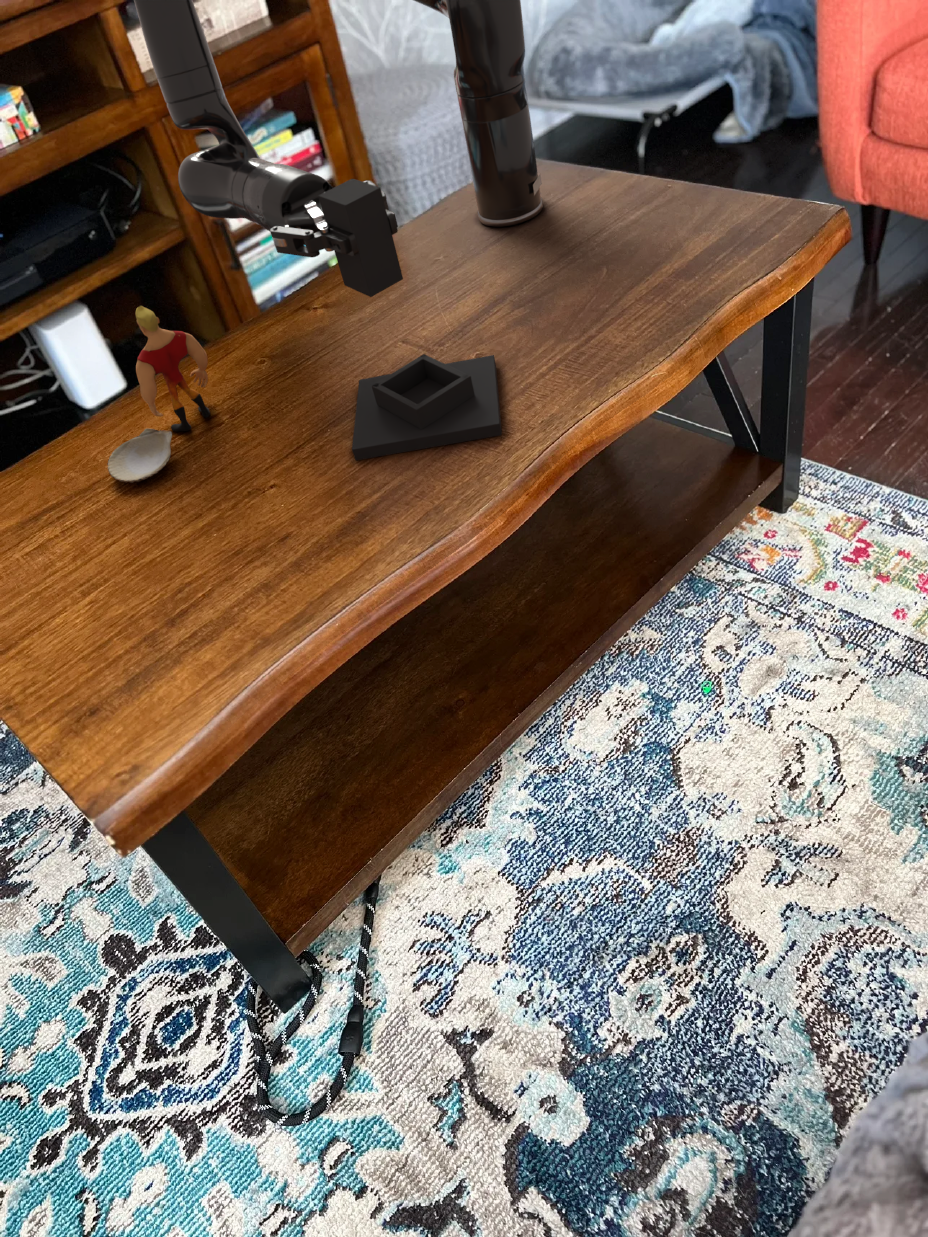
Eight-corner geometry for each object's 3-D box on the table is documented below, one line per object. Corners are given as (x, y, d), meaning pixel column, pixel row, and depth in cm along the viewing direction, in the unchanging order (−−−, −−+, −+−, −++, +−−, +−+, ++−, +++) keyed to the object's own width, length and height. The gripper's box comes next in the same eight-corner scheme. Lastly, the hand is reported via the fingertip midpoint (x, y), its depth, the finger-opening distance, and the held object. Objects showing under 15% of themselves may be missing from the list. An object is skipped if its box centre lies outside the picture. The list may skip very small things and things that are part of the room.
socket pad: (362, 390, 113) (353, 360, 110) (496, 365, 111) (490, 334, 108) (355, 460, 103) (345, 430, 100) (502, 435, 101) (495, 403, 98)
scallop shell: (113, 492, 111) (151, 493, 106) (94, 473, 109) (132, 473, 104) (154, 441, 115) (193, 439, 110) (136, 422, 113) (175, 420, 108)
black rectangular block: (344, 285, 106) (317, 195, 99) (376, 267, 108) (352, 177, 101) (370, 297, 103) (345, 205, 96) (403, 279, 104) (380, 187, 97)
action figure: (214, 397, 119) (164, 283, 108) (231, 403, 117) (183, 289, 106) (154, 438, 114) (96, 325, 104) (171, 446, 112) (114, 331, 102)
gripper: (225, 195, 105) (307, 228, 94) (330, 144, 110) (419, 170, 99) (249, 260, 110) (329, 298, 99) (348, 209, 115) (434, 240, 104)
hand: (373, 234), depth 99 cm, fingers closed on black rectangular block, 4 cm apart
